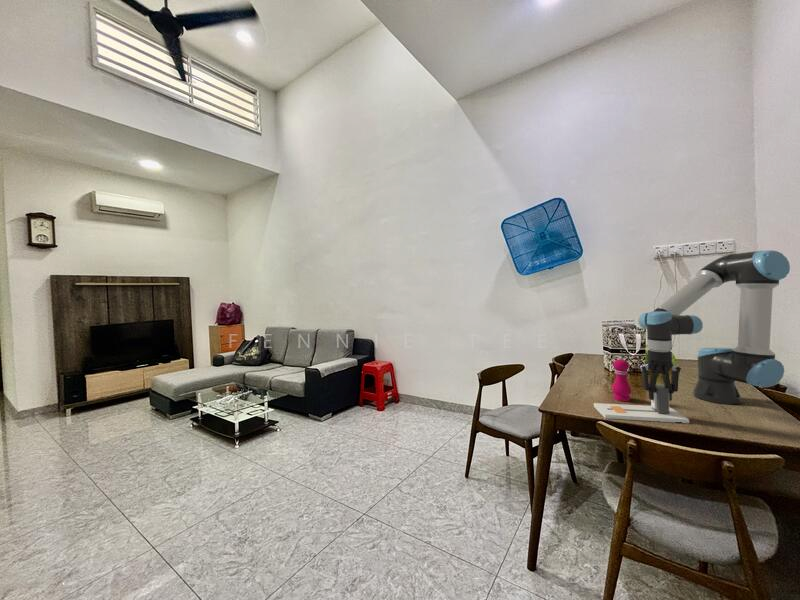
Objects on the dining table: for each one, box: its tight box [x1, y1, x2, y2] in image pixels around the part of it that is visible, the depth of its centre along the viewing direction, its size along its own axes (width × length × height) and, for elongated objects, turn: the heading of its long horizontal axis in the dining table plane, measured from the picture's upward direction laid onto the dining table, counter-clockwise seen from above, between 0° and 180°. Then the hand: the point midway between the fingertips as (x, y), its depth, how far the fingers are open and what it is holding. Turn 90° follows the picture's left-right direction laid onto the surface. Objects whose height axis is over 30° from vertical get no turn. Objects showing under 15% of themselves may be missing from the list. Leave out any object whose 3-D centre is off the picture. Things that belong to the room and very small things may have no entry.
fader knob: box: [652, 384, 670, 414], centre depth 126 cm, size 4×5×10 cm
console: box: [593, 402, 690, 424], centre depth 128 cm, size 28×13×2 cm, turn 75°
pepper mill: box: [611, 356, 632, 402], centre depth 145 cm, size 7×7×20 cm
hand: (660, 407), depth 126 cm, fingers closed on fader knob, 3 cm apart
